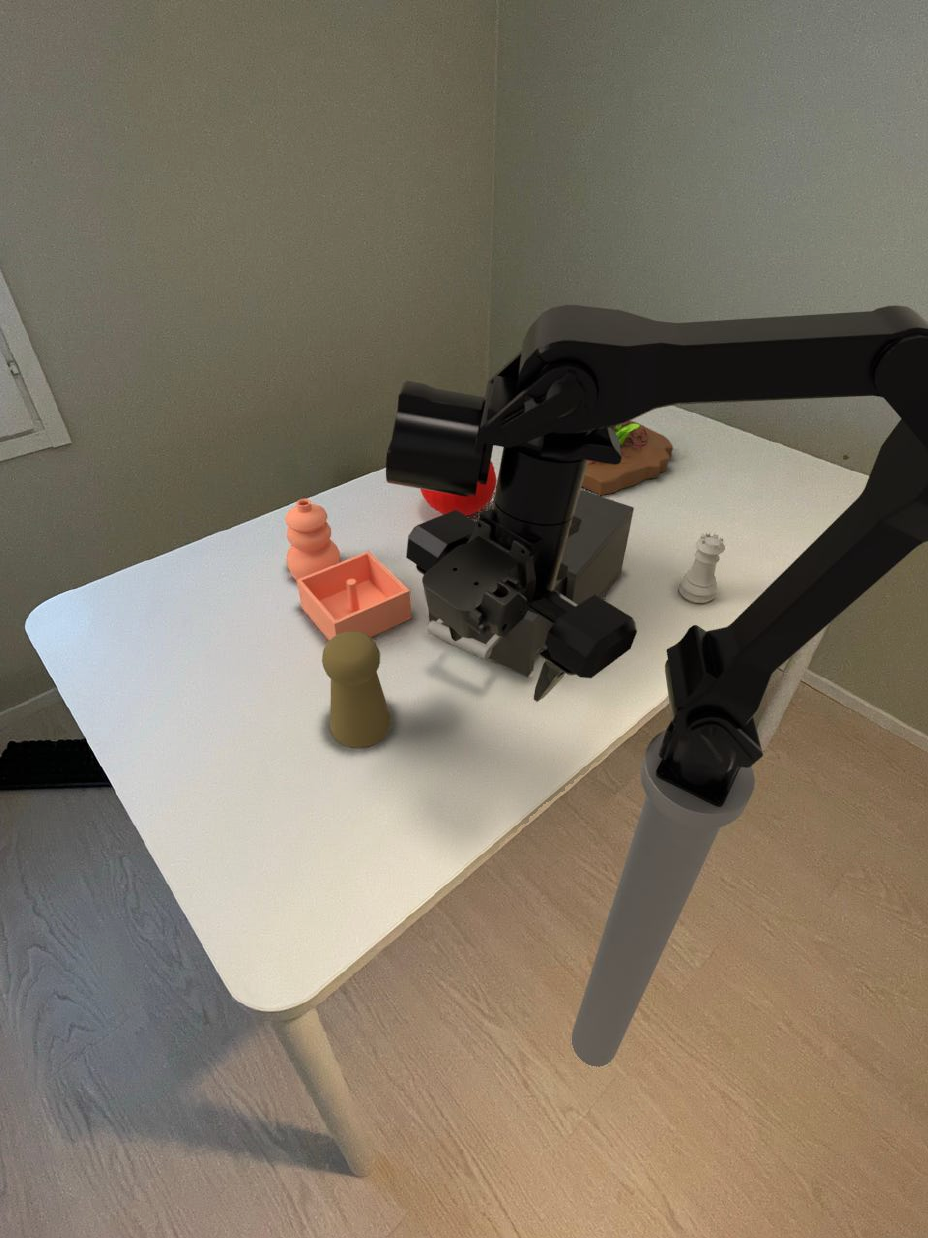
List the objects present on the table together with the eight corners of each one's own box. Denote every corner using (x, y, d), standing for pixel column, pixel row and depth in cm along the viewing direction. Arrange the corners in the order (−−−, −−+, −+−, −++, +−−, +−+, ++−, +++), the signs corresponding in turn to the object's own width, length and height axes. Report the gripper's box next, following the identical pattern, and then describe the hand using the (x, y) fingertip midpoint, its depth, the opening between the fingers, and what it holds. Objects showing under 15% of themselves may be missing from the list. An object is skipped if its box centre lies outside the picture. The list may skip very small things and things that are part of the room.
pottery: (411, 618, 81) (407, 550, 75) (338, 652, 77) (327, 582, 71) (337, 543, 92) (327, 477, 86) (270, 569, 88) (254, 502, 82)
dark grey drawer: (507, 703, 71) (511, 647, 65) (406, 653, 76) (402, 598, 71) (585, 606, 82) (594, 551, 76) (493, 568, 87) (495, 514, 82)
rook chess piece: (691, 576, 87) (706, 522, 82) (722, 593, 85) (740, 539, 80) (670, 592, 85) (684, 538, 80) (701, 610, 83) (718, 555, 77)
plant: (507, 454, 109) (510, 385, 102) (588, 416, 119) (596, 350, 112) (608, 507, 99) (621, 434, 91) (688, 460, 109) (705, 390, 101)
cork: (318, 736, 69) (301, 657, 61) (349, 693, 73) (336, 614, 65) (373, 756, 67) (363, 677, 60) (401, 710, 71) (395, 631, 64)
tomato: (504, 525, 95) (507, 459, 89) (429, 536, 94) (426, 469, 87) (484, 485, 103) (485, 421, 96) (413, 494, 101) (410, 430, 94)
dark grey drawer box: (566, 642, 79) (576, 574, 72) (463, 598, 84) (463, 530, 78) (621, 573, 88) (634, 507, 81) (524, 537, 93) (529, 472, 87)
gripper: (358, 477, 49) (349, 647, 58) (572, 614, 40) (519, 788, 49) (468, 442, 56) (443, 599, 65) (670, 552, 47) (608, 714, 56)
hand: (496, 667), depth 59 cm, fingers open, 9 cm apart
